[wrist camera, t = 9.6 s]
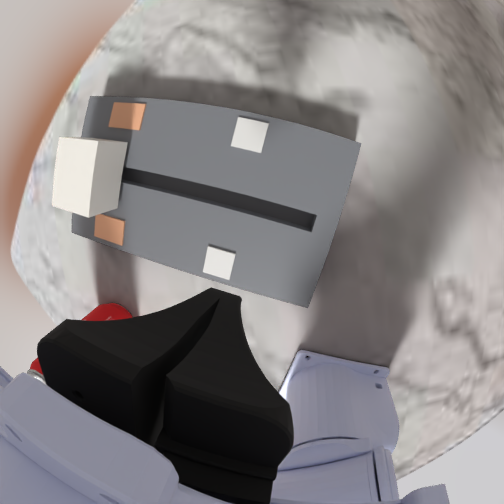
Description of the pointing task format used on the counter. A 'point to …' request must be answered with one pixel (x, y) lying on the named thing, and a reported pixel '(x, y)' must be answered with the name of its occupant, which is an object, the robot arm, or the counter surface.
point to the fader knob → (88, 175)
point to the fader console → (222, 192)
